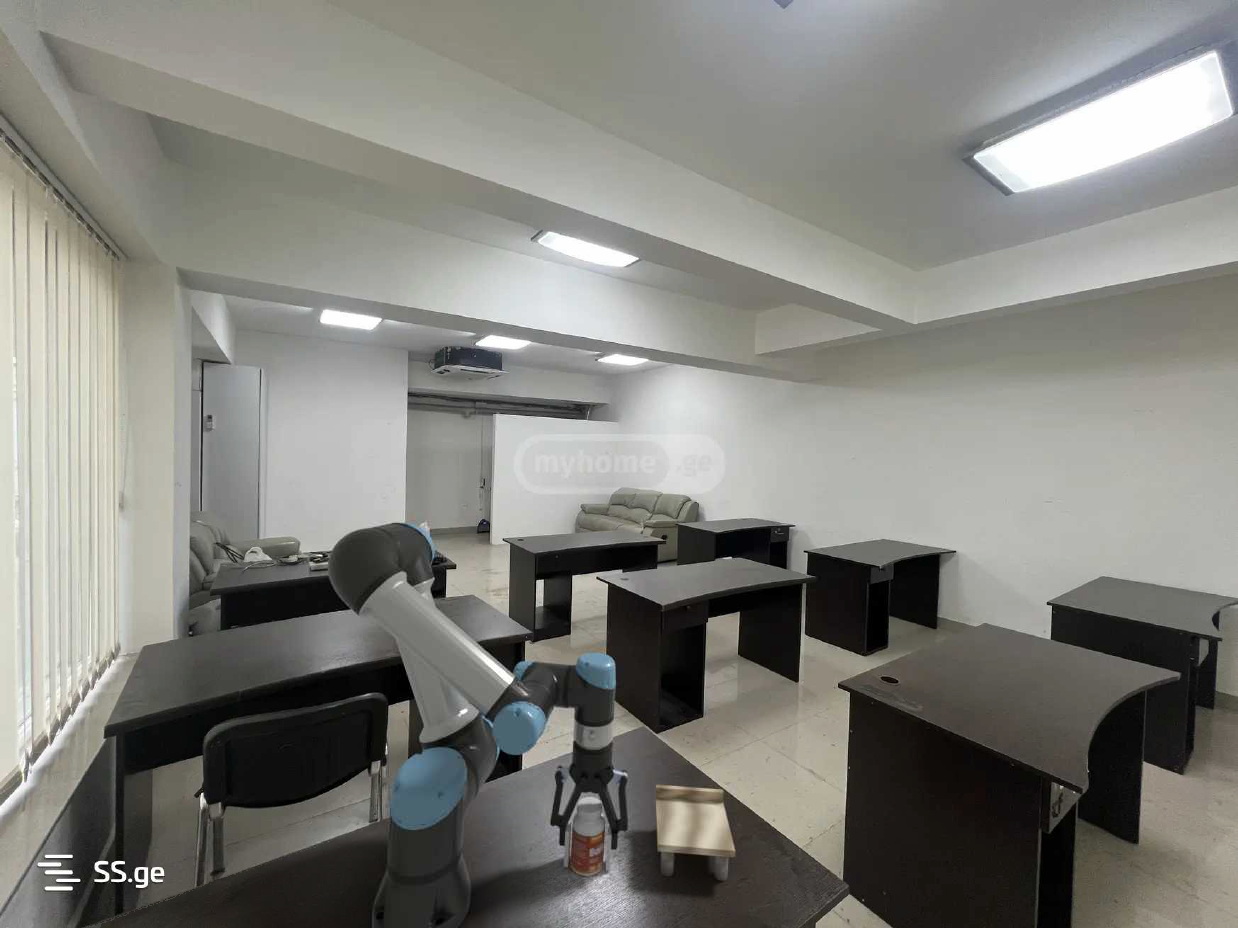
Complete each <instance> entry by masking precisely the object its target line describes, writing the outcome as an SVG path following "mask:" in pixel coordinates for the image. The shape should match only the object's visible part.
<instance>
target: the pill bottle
mask: <svg viewBox="0 0 1238 928" xmlns="http://www.w3.org/2000/svg"><path fill="white" fill-rule="evenodd" d="M576 806H577V807H576V813H575V814H574V816H573V819H572V824H571V843H570V867H571V869H572V870H573V872H574V873H576V874H577V875H579V876H582V877H591V876H594V875H596V874H598V873H599V872H600V871H601V870H602V868H603V866H604V856H605V855H604V854H605V838H606V837H605V835H606V834H605V833H606V819H605V816H604V814H603V804H602V801H601V800H600V799H598V798H597V797H593V796H586V797H583V798H580V799H579V800H578V801H577V804H576Z"/></svg>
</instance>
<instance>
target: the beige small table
mask: <svg viewBox="0 0 1238 928" xmlns="http://www.w3.org/2000/svg"><path fill="white" fill-rule="evenodd" d="M724 794H725V793H724V789H722V788H721V789H720V788H718V789H717V788H708V787H707V788H705V787H704V788H703V787H695V786H694V787H691V786H678V785H666V784H664V785H663V784H655V820H656V821H655V824H656V843H657V845H656V846H657V852H661V853H660V870H659V871H660V873H661V874H662V875H663V876H665V877H671V876H673V874H674V863H675V862H674V861H675V853H676V854H687V855H688V854H689V855H698V856H699V855H701V856H710V857H711V856H712V857H714V869H713V870H714V873H713V874H714V877H715V879H716V880H718V881H721V882H722V881H727V879H728V876H729V875H728V872H729V858H736V849H735V845H734V840H733V837H732V832H731V829H730V824H729V820H728V815H727V811H726V808H725V805H724V804H725V803H724Z"/></svg>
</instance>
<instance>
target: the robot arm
mask: <svg viewBox="0 0 1238 928" xmlns="http://www.w3.org/2000/svg"><path fill="white" fill-rule="evenodd" d="M435 549H436V548H435V544H434V541H433V539H432V537H431V535H430V534H429V533H428V532H427V531H426V530H425V529H424V528H422V526H419V525H417V524H414V523H411V522H398V521H397V522H392V523H391V522H390V523H386V524H382V525H378V526H372V527H366V528H360V529H356V530H354V531H350V532H349V533H348V534H346V535H344V536H343V537H342V538H340V539H339V540H338V541H337V543H336V544H335V545H334V547H333V548H332V549H331V551H330V554H329V557H328V561H327V572H328V573H327V574H328V579H329V580H330V583H331V585H332V587H333V590H334V591H335V592H336V594H337V595H338V597H339V598H340V599H341V600H342V602H344V603H345V605H346V606H347V607H349V609H350V610H352V611H353V612H354V613H355V614H356V615H357V616H359V617H360V618H361V619H367V618H370V619H373V620H374V621H375V622H376V623H378V624H379V625H380V626H381V627H382V628H383V629H384V630H385V631H386V632H388V634H390V635H391V636H392V637H393V638H395V642H396V644H397V645H396V646H397V647H398V651H399V653H400V656H401V659H402V663H403V665H404V668H405V671H406V672H405V673H406V676H407V677H408V681H409V684H410V686H411V690H412V692H413V696H414V700H415V702H416V704H417V705H416V706H417V707H418V711H419V714H420V716H421V720H422V723H423V728H422V729H421V730H422V731H421V732H420V735H419V737H418V739H419V743H420V746H421V749H422V752H421V753H420V754H419V753H415V754H413V755H412V756H411V757H409V758H408V759H406V760H405V761H404V762H403V763H402V765H400V767H399V768H398V769H397V771H396V772H395V774H394V778H393V779H392V782H391V783H392V784H391V791H390V794H389V800H388V801H389V802H388V809H389V814H388V815H389V817H388V834H387V835H388V838H387V840H388V841H387V855H386V856H387V859H386V869H385V872H384V875H383V878H382V881H381V882H380V885H379V888H378V891H377V893H376V895H375V899H374V903H373V907H372V914H371V915H372V916H371V928H459V927H460V926H461V924H462V923H463V922H464V920H465V918H466V917H467V914H468V912H469V909H470V906H471V905H470V904H471V896H472V894H471V893H472V892H471V891H472V884H471V878H470V875H469V872H468V868H467V865H466V862H465V858H464V855H463V841H464V826H465V825H464V824H465V817H466V814H467V813H468V811H469V809H470V807H471V806H472V804H473V803H474V801H475V799H476V798H477V796H478V795H479V793H480V791H481V789H482V788H483V786H484V785H485V783H486V781H487V780H488V779H489V777H490V775H491V774H492V773H493V771H494V768H495V767H496V763H497V760H498V759H499V755H500V750H501V751H502V752H504V753H506V754H507V755H513V756H516V755H517V756H519V755H523V754H526V753H528V752H529V751H531V750H532V749H533V748H534V747H535V745H536V744H537V742H538V740H539V739H540V738H541V737H542V736H543V734H544V731H545V729H546V727H547V726H546V725H547V723H548V722H549V718H550V717H551V715H552V712H553V711H554V708H560V709H574V714H573V717H574V718H573V731H572V732H573V733H572V735H573V742H572V754H571V755H572V758H571V763H570V765H569V766H566V767H563V766H562V765H561V764H560V765H558V766H557V767H556V770H555V774H554V780H555V791H554V796H553V797H554V798H553V804H552V809H551V816H550V820H549V823H550V826H551V827H555V826H557V828H558V829H559V833H558V834H559V835H558V837H559V838H558V844H559V846H560V847H563V846H564V849H563V850H564V851H563V852H564V854H563V868H569V867H568V866H569V863H570V859H571V842H572V821H570V819H571V817H572V815H573V812H574V811H575V808H576V806H577V804H578V802H579V800H580V799H581V798H580V797H581V795H582V793H584V794H587V793H592V794H595V795H596V794H597V795H598V797H599V800H600V802H601V803H602V808H603V810H604V813H605V817H606V820H607V822H608V827H607V837H606V838H607V839H606V857H605V859H606V860H605V871H607V872H610V871H611V863H612V862H611V861H612V850H615V851H616V850H617V849H618V840H619V836H618V835H619V832H621V831H623V832H627V831H628V827H629V815H628V803H627V802H628V801H627V791H626V790H627V789H626V787H627V785H628V784H627V783H628V771H627V769H622V770H621V771H619V770H616V769H615V768H614V766H613V749H614V748H613V747H614V742H613V739H614V727H615V726H614V725H615V705H616V704H615V701H616V688H617V687H616V686H617V681H616V661H615V660H614V659H613V658H612V656H610V655H608V654H606V653H602V652H591V653H589V652H587V653H583V654H581V655H580V656H578V658H577V660H576V663H575V664H564V663H563V664H562V663H554V662H553V663H552V662H543V661H542V662H541V661H538V660H533V661H519V662H518V663H517V664H516V665H515V666H514V669H513V672H511V671H510V670H509V669H508V668H506V667H505V666H504V665H503V664H502V663H501V662H499V661H498V660H497V659H496V658H495V657H494V656H492V655H491V653H489V652H488V651H486V650H485V649H484V648H483V646H481V645H480V644H479V643H478V642H477V641H475V640H474V639H473V638H472V637H471V636H470V635H468V634H467V633H466V632H465V631H463V629H461V628H460V627H459V625H457V624H456V623H455V622H454V621H452V620H451V619H450V618H449V617H448V616H446V614H444V613H443V612H442V611H441V610H439V609H438V608H437V607H436V604H435V601H434V598H433V597H434V596H433V594H432V591H431V587H432V586H433V584H434V581H435V575H434V572H433V568H432V563H433V560H434V558H435V552H436V551H435ZM568 777H571V779H572V780H573V783H574V787H573V789H572V792H571V794H570V797H569V798H568V802H567V804H566V806H565V809H564V810H563V812H562V814H560V809H561V808H560V807H561V802H562V797H563V790H564V787H565V786H564V784H565V782H566V781H567V780H568ZM612 780H614V783H615V785H616V786H617V787H618V791H617V792H618V805H619V817H620V818H618V816H617V813H616V810H615V806H614V803H613V800H612V797H611V795H610V791H609V786H608V785H609V783H610V782H611V781H612Z"/></svg>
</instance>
